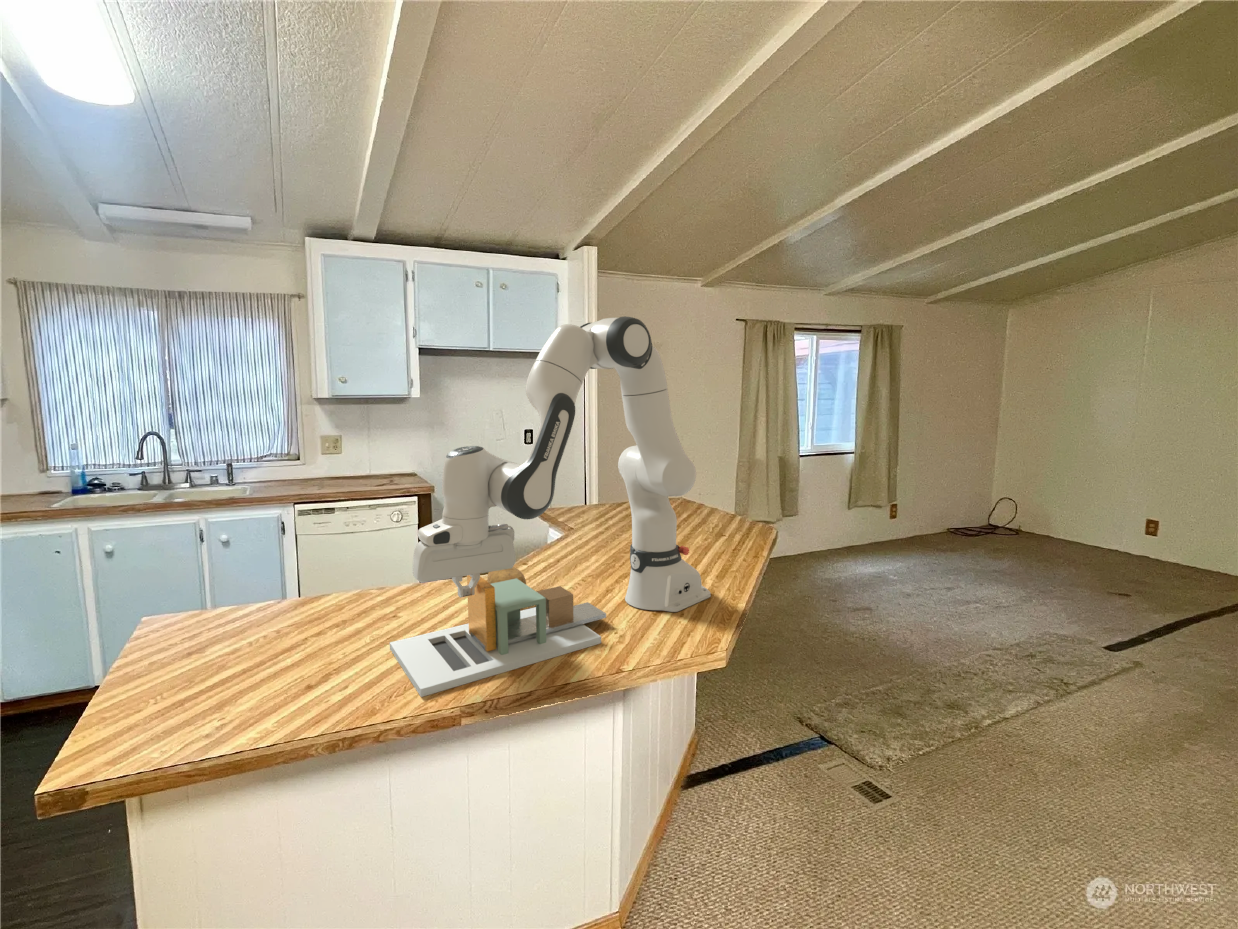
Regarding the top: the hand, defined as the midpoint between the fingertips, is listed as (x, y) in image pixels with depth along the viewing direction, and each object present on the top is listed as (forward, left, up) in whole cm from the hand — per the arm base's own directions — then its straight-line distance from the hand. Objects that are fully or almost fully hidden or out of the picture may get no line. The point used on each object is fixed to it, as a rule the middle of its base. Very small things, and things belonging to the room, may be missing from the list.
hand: (466, 595), depth 119 cm
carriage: (-17, 0, -11) cm, 20 cm away
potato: (-19, -24, -13) cm, 33 cm away
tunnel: (-9, 0, -11) cm, 14 cm away
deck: (-6, 0, -12) cm, 14 cm away
